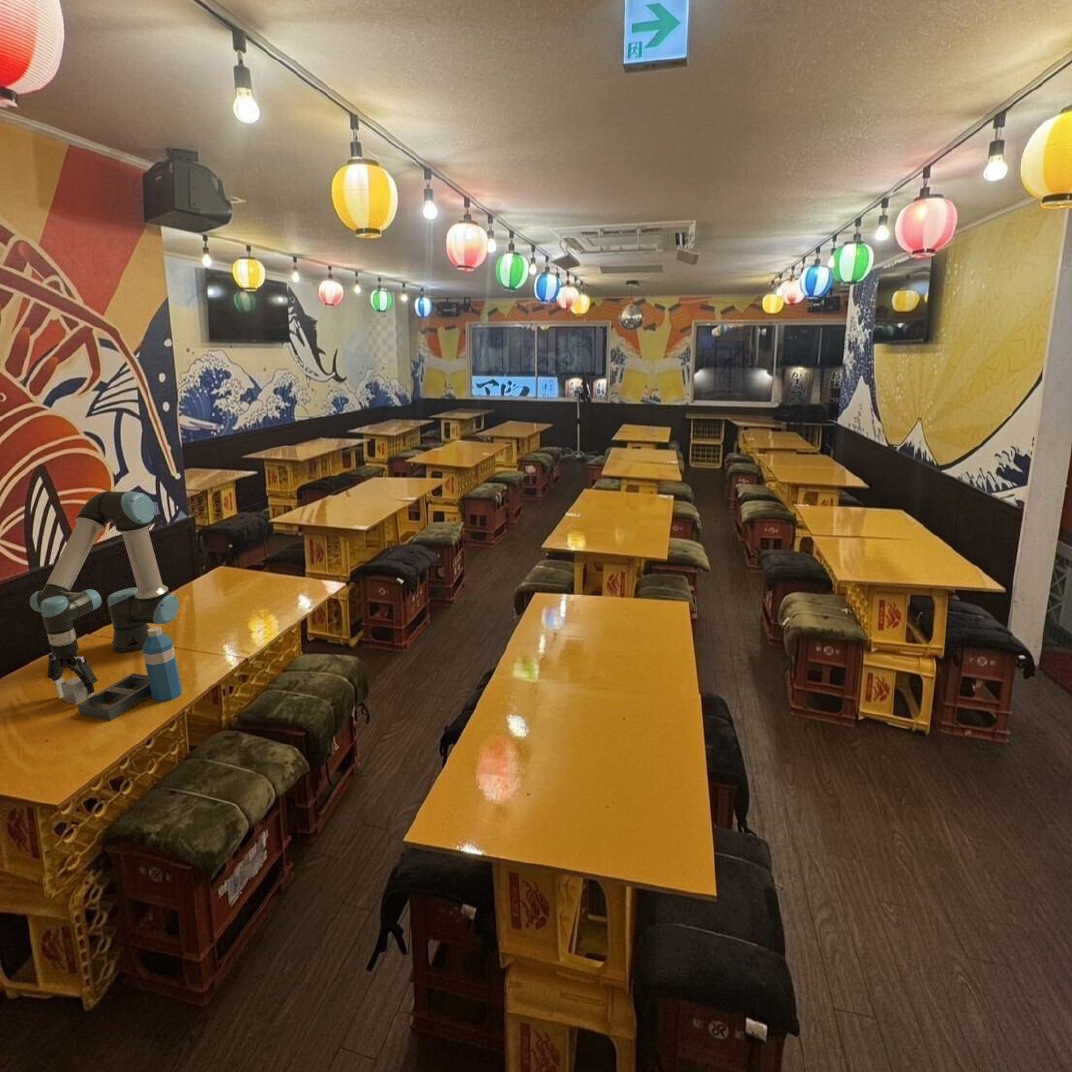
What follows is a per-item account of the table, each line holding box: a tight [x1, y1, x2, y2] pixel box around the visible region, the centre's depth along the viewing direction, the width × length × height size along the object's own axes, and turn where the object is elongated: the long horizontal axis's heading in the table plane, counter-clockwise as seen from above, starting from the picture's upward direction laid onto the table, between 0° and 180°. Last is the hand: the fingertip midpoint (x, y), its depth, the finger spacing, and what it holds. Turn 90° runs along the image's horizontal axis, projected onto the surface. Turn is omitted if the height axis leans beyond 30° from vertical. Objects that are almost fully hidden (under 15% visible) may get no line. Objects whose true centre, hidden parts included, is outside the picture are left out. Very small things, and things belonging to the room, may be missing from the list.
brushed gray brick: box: [61, 676, 86, 705], centre depth 233 cm, size 5×5×7 cm
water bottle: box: [141, 626, 183, 703], centre depth 231 cm, size 9×9×25 cm
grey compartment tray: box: [76, 672, 152, 721], centre depth 231 cm, size 22×13×4 cm, turn 163°
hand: (77, 698), depth 234 cm, fingers open, 12 cm apart
